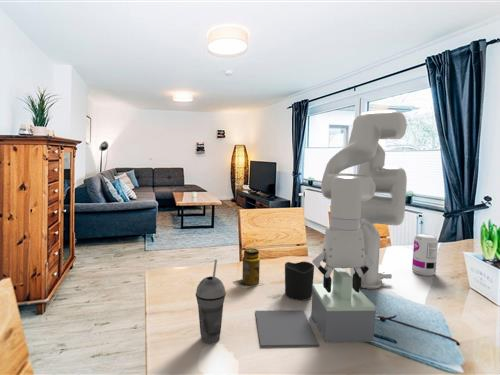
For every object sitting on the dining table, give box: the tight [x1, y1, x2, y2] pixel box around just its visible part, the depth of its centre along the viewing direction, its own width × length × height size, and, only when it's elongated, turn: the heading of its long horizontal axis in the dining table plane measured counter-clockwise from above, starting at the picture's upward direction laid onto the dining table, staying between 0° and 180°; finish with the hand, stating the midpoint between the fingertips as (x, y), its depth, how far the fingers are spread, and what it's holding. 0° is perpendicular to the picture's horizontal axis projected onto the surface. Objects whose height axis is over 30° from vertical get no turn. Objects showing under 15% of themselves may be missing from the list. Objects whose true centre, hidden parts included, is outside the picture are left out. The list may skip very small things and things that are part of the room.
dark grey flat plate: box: [255, 309, 320, 348], centre depth 84 cm, size 14×17×1 cm
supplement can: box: [411, 233, 439, 277], centre depth 127 cm, size 8×8×15 cm
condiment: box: [232, 247, 265, 290], centre depth 113 cm, size 7×8×12 cm
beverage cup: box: [195, 259, 226, 345], centre depth 78 cm, size 7×7×20 cm
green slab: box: [312, 268, 376, 312], centre depth 84 cm, size 12×14×8 cm
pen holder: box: [284, 261, 315, 301], centre depth 104 cm, size 9×9×10 cm
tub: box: [310, 288, 376, 343], centre depth 85 cm, size 12×14×8 cm
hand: (341, 289), depth 84 cm, fingers open, 6 cm apart
